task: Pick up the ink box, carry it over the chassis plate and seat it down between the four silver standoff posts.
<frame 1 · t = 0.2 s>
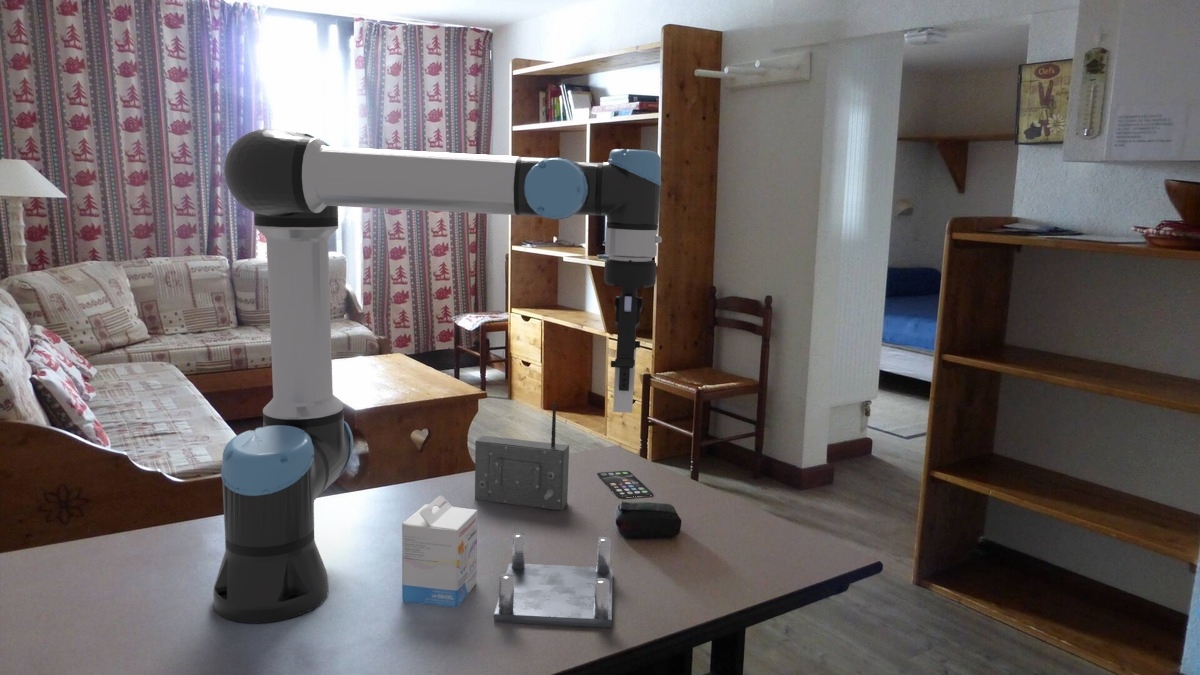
hand: (624, 400, 129), 28 cm above the table, fingers open, 13 cm apart
smartphone: (624, 487, 173), on the table
chassis: (556, 597, 125), on the table
electronic device: (517, 505, 161), on the table
ink box: (440, 593, 125), on the table
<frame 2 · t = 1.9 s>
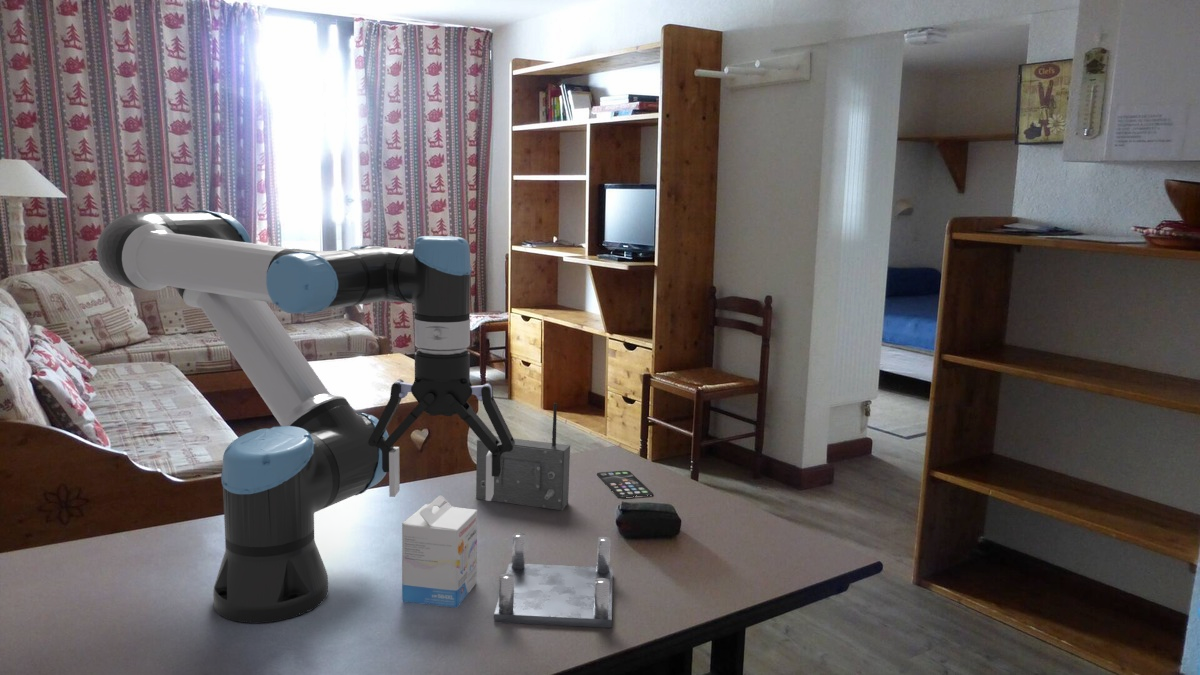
hand: (442, 495, 123), 15 cm above the table, fingers open, 13 cm apart
nothing on the table moved.
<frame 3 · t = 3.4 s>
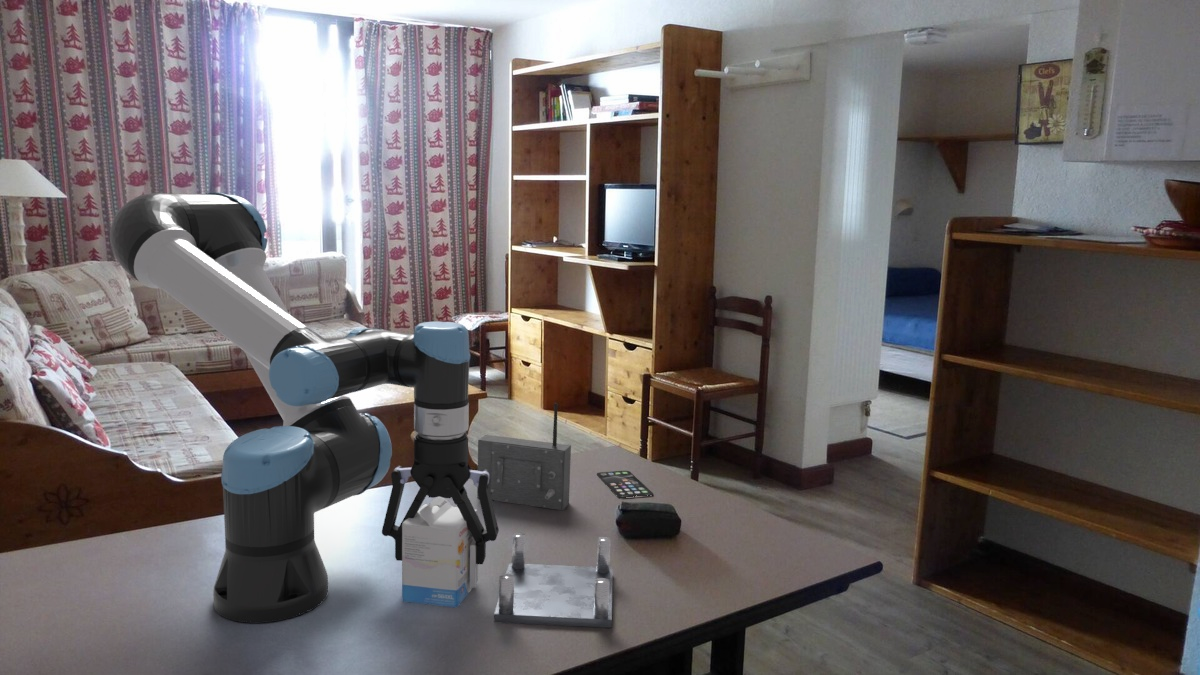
hand: (440, 582, 125), 2 cm above the table, fingers closed on ink box, 9 cm apart
ink box: (440, 593, 125), on the table, touching gripper
everything else where it was.
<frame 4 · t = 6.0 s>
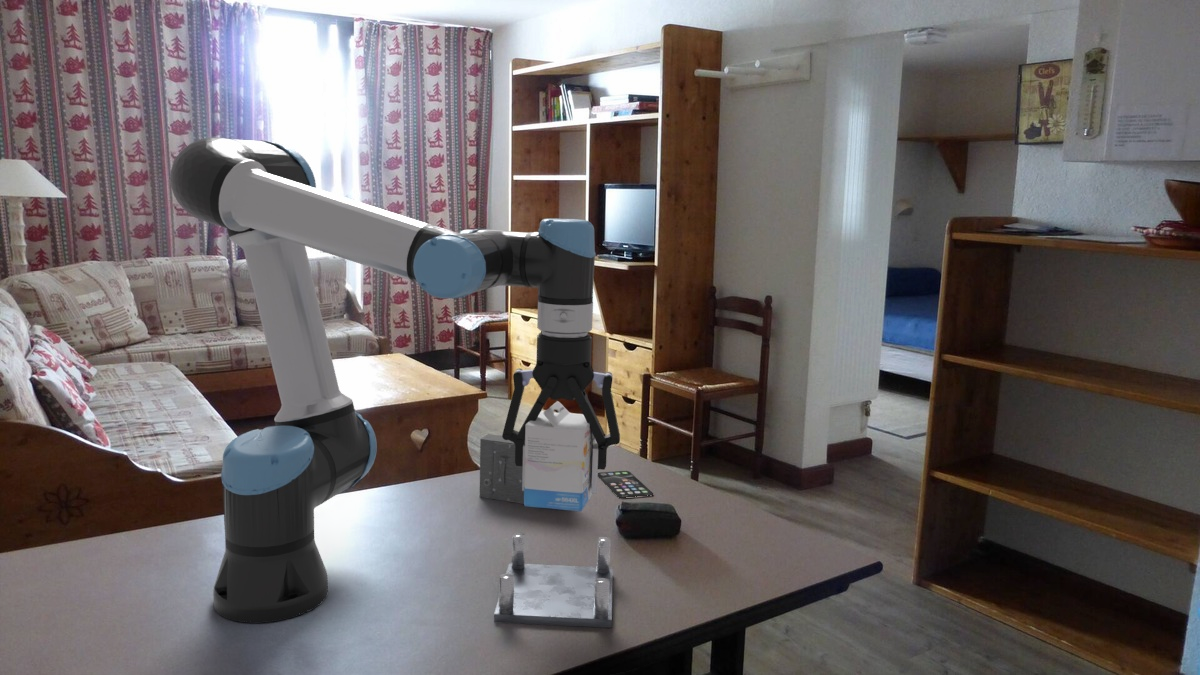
hand: (560, 488, 122), 17 cm above the table, fingers closed on ink box, 9 cm apart
ink box: (559, 500, 122), point 15 cm above the table, touching gripper
everything else where it was.
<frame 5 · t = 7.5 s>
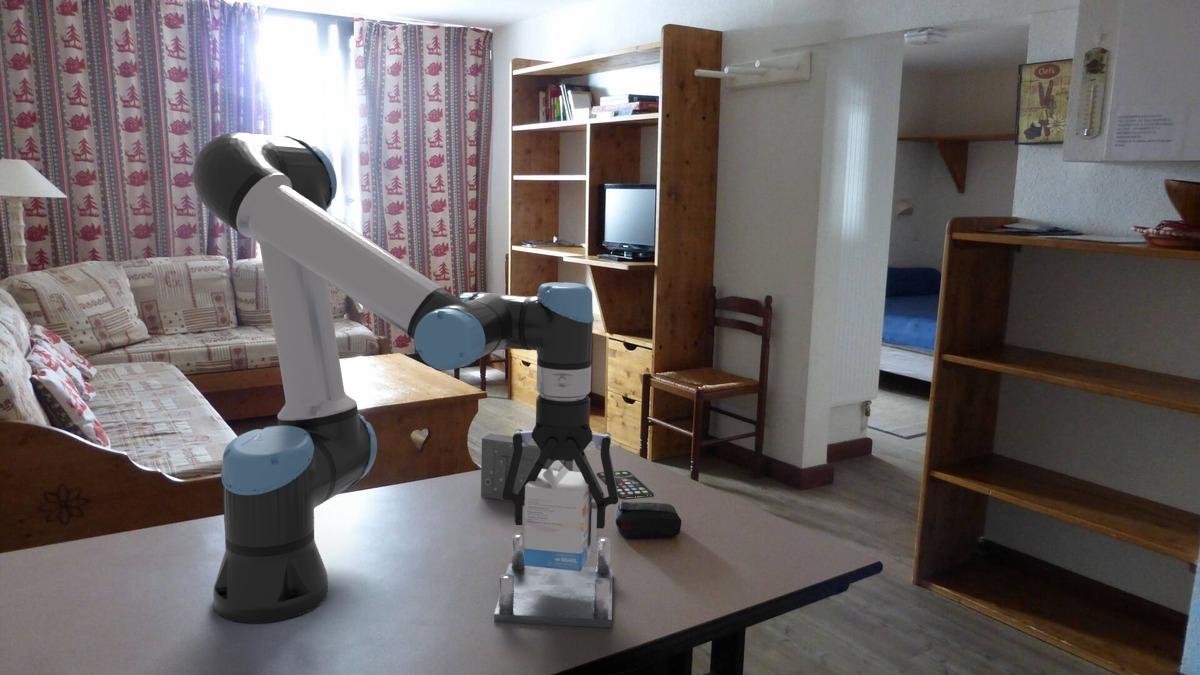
hand: (559, 547, 124), 8 cm above the table, fingers closed on ink box, 9 cm apart
ink box: (558, 558, 124), point 6 cm above the table, touching gripper
when the fingers open (4 cm above the table, at t = 8.7 s): ink box drops 2 cm, resting on chassis.
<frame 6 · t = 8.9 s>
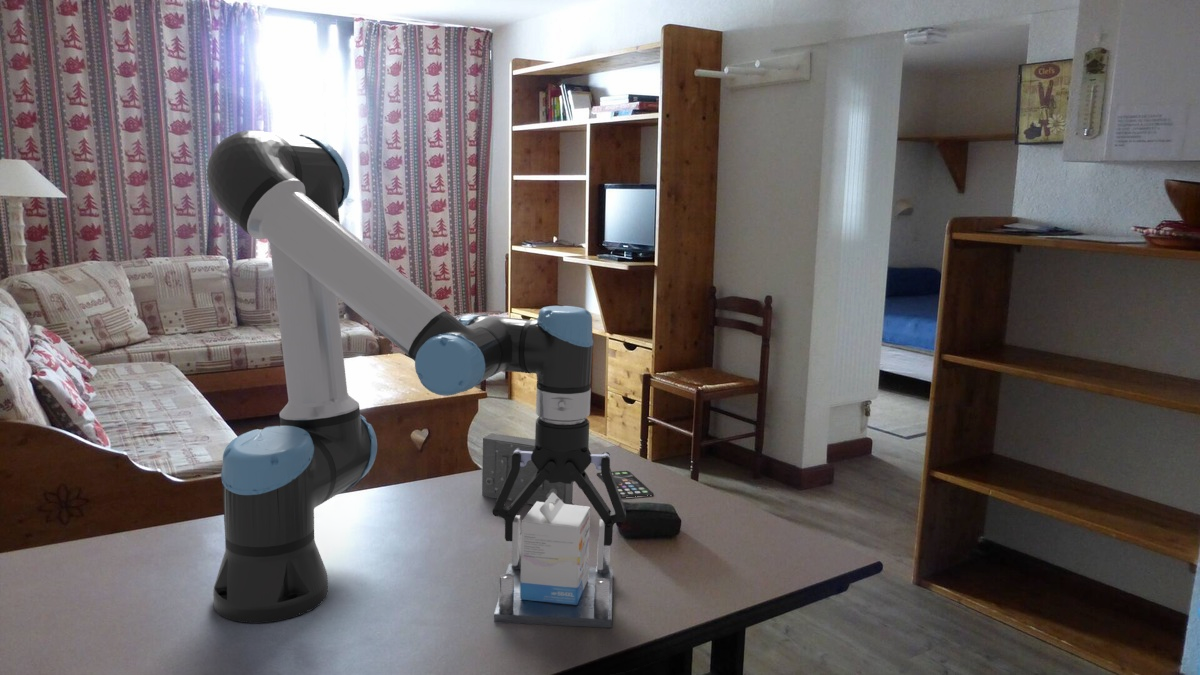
hand: (557, 563, 124), 5 cm above the table, fingers open, 11 cm apart
ink box: (554, 590, 125), point 1 cm above the table, touching chassis
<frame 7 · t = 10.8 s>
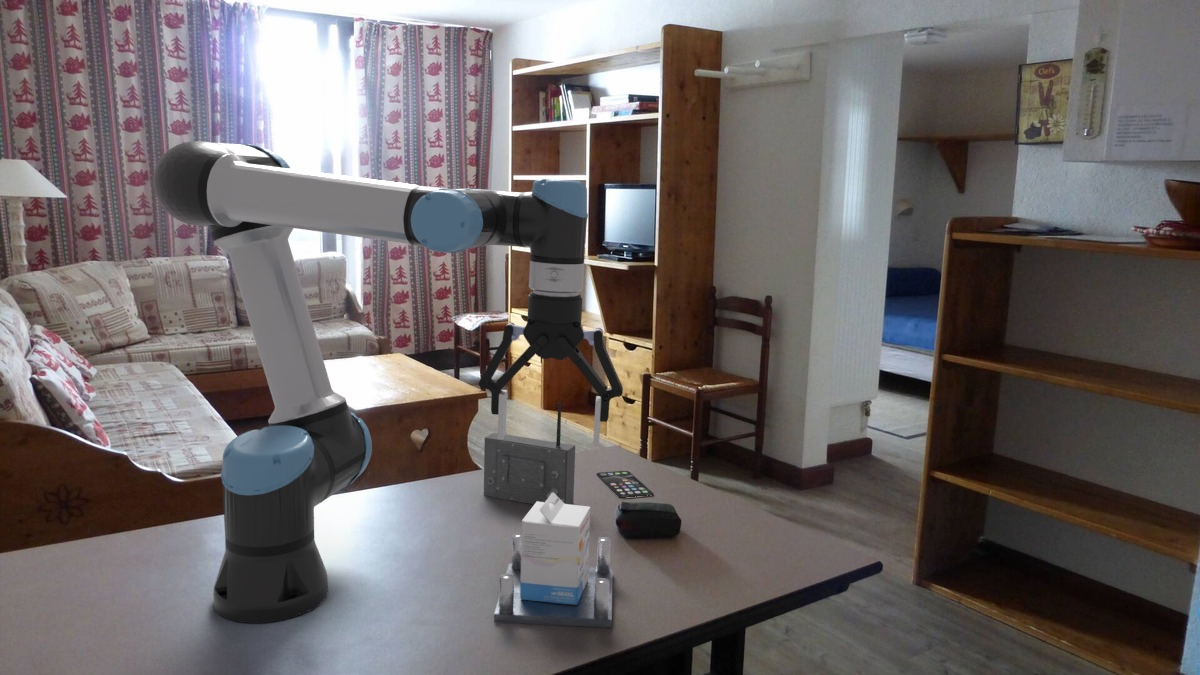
hand: (548, 439, 123), 23 cm above the table, fingers open, 13 cm apart
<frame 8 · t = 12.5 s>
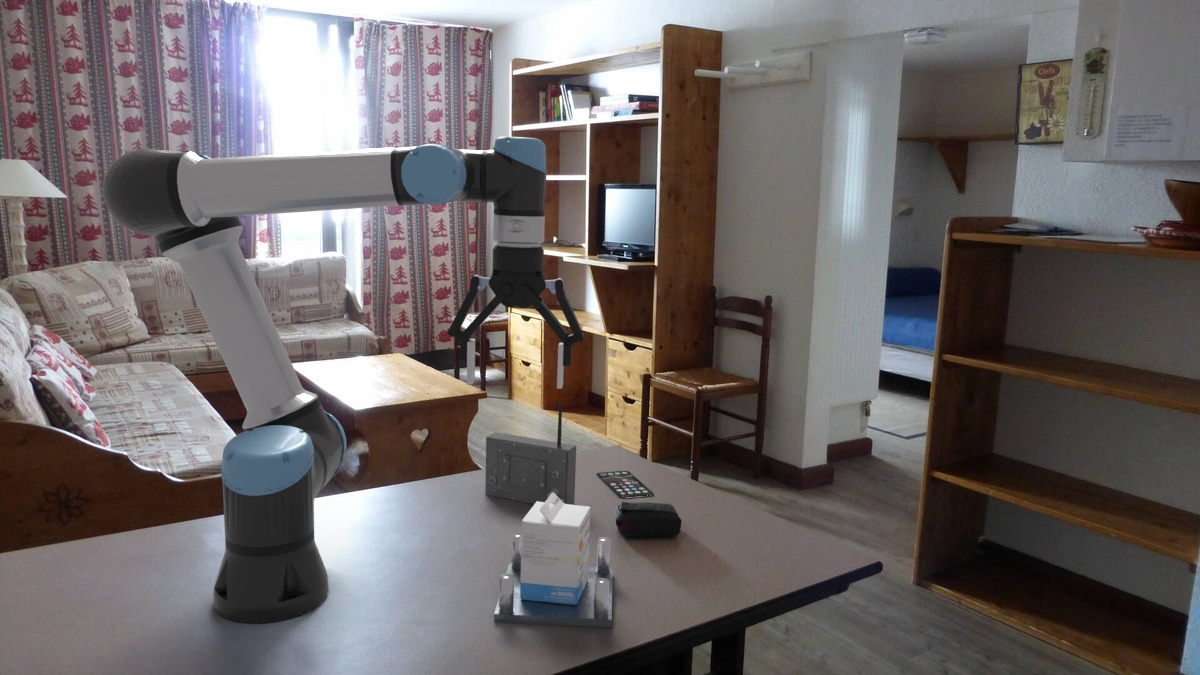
hand: (515, 384, 131), 29 cm above the table, fingers open, 13 cm apart
at the end: ink box 0.3 cm from the chassis (horizontally); ink box tilted 0°; the gripper is holding nothing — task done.
